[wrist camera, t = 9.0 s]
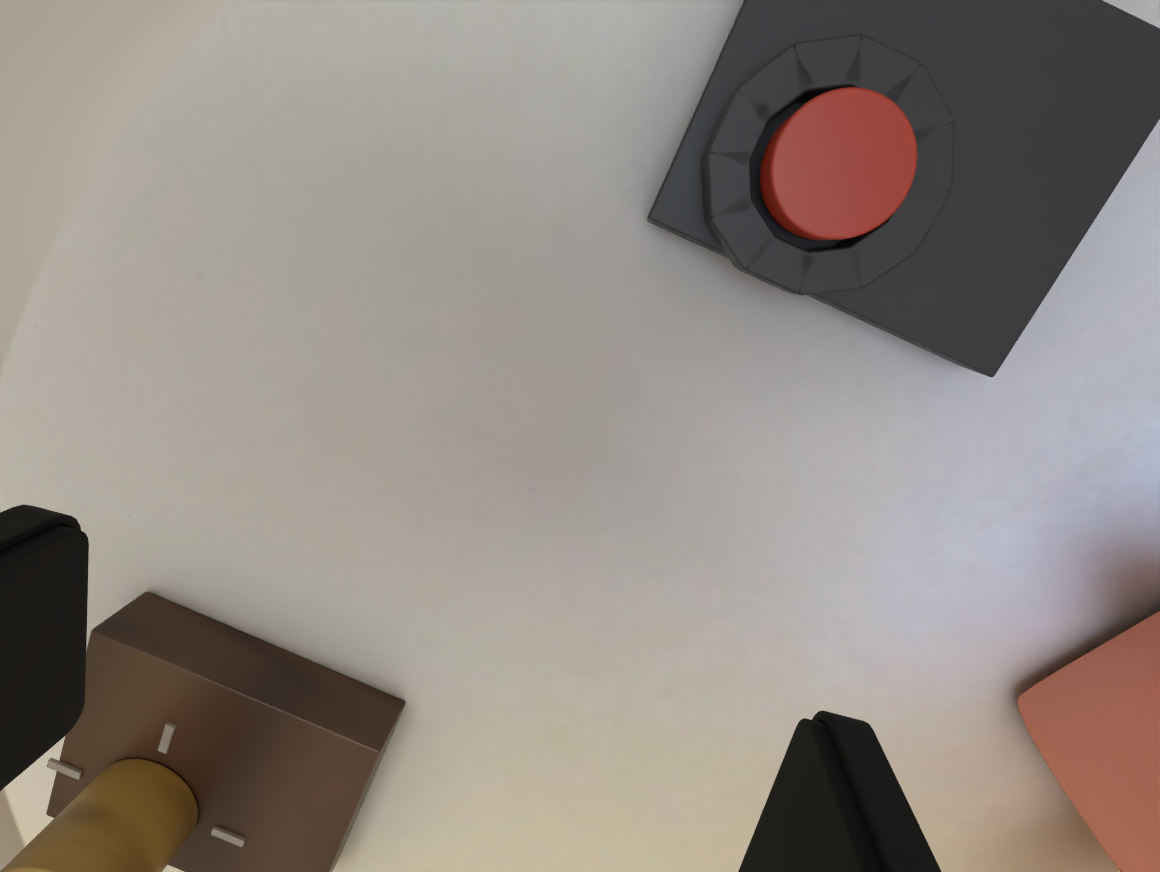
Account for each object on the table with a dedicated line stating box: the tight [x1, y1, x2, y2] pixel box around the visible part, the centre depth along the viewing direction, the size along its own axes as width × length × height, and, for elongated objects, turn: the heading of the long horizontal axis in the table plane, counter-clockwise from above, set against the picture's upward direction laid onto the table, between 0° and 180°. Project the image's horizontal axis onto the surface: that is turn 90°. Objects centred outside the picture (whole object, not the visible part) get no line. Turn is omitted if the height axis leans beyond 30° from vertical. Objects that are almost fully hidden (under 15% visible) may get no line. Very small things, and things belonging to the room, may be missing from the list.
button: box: [760, 87, 917, 240], centre depth 18 cm, size 4×4×2 cm
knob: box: [1, 759, 198, 872], centre depth 25 cm, size 4×4×5 cm
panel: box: [46, 592, 405, 872], centre depth 29 cm, size 12×11×3 cm
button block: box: [647, 0, 1160, 377], centre depth 20 cm, size 12×10×4 cm
